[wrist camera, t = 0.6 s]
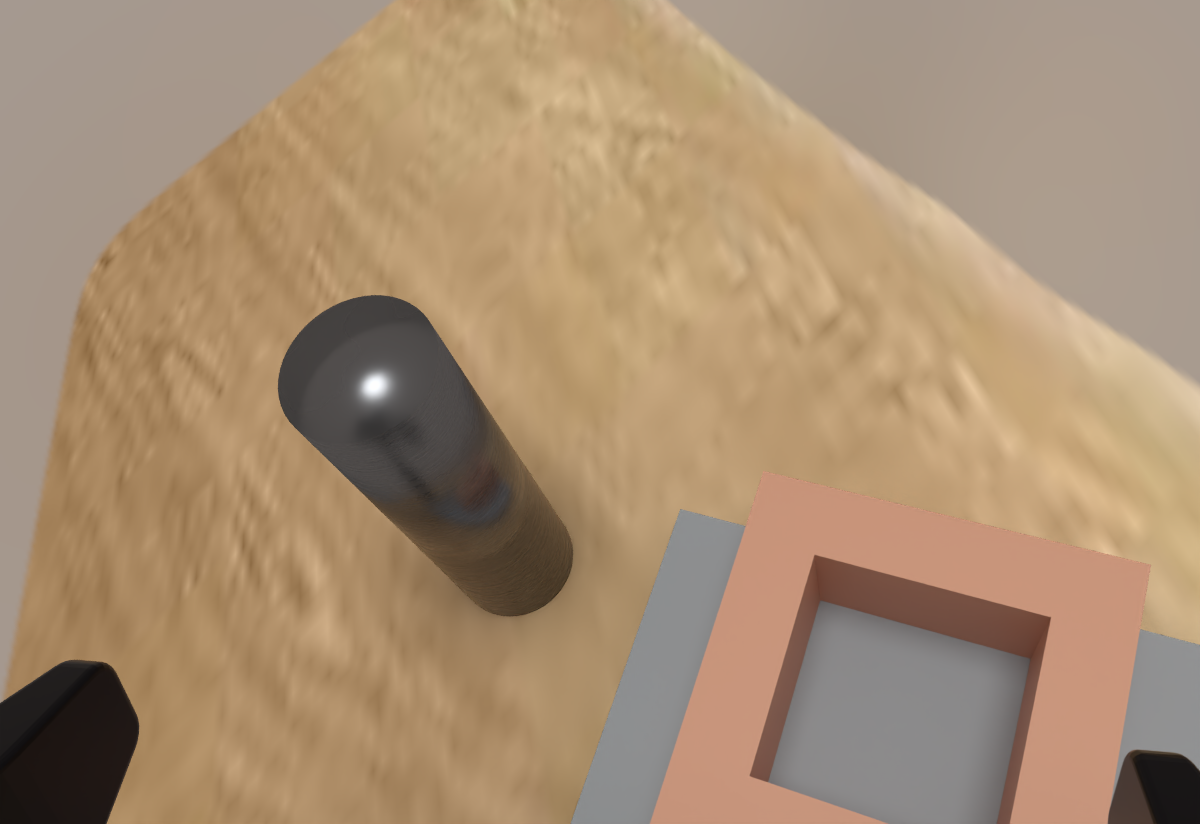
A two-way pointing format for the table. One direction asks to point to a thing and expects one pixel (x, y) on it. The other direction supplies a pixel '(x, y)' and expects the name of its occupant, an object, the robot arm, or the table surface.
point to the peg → (425, 450)
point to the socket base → (884, 673)
